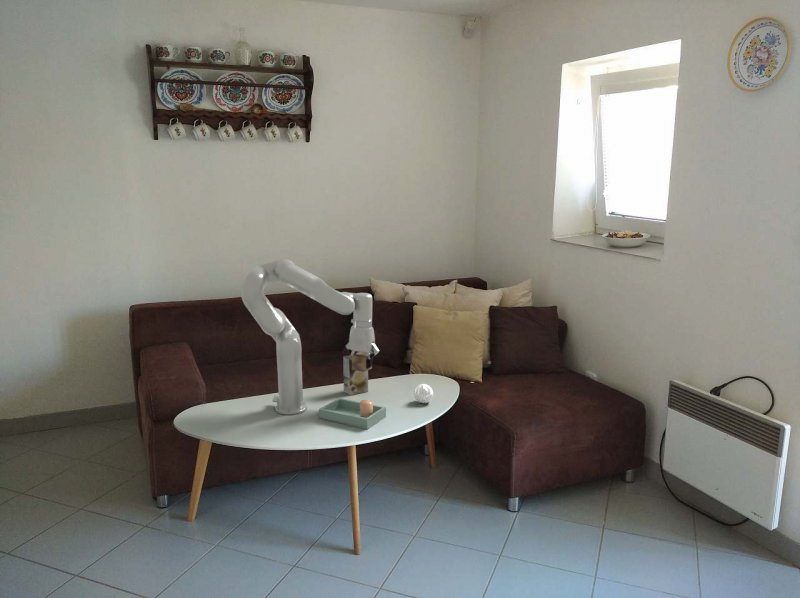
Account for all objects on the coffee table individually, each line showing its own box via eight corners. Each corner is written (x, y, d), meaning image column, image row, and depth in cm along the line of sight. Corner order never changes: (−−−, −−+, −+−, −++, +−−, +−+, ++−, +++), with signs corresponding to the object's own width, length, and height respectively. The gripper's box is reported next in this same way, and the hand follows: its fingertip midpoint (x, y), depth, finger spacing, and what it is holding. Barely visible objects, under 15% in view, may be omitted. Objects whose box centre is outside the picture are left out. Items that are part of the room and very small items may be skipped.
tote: (319, 418, 244) (318, 409, 244) (339, 407, 256) (339, 397, 256) (367, 429, 234) (367, 419, 233) (386, 416, 246) (385, 407, 245)
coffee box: (350, 395, 270) (349, 359, 266) (343, 391, 275) (342, 356, 272) (368, 391, 275) (368, 356, 271) (361, 387, 280) (360, 352, 277)
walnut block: (351, 369, 256) (351, 355, 255) (359, 365, 261) (359, 352, 260) (364, 372, 253) (364, 357, 252) (371, 368, 258) (372, 354, 257)
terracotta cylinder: (357, 420, 241) (357, 403, 240) (364, 416, 245) (363, 399, 244) (369, 422, 239) (368, 405, 238) (375, 418, 243) (375, 400, 242)
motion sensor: (414, 405, 258) (414, 388, 256) (413, 399, 265) (413, 381, 264) (433, 405, 258) (433, 387, 256) (432, 399, 265) (432, 381, 264)
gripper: (339, 322, 254) (339, 365, 257) (376, 328, 246) (375, 372, 249) (349, 319, 260) (349, 360, 264) (385, 324, 252) (384, 367, 256)
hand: (361, 366), depth 257 cm, fingers closed on walnut block, 6 cm apart
